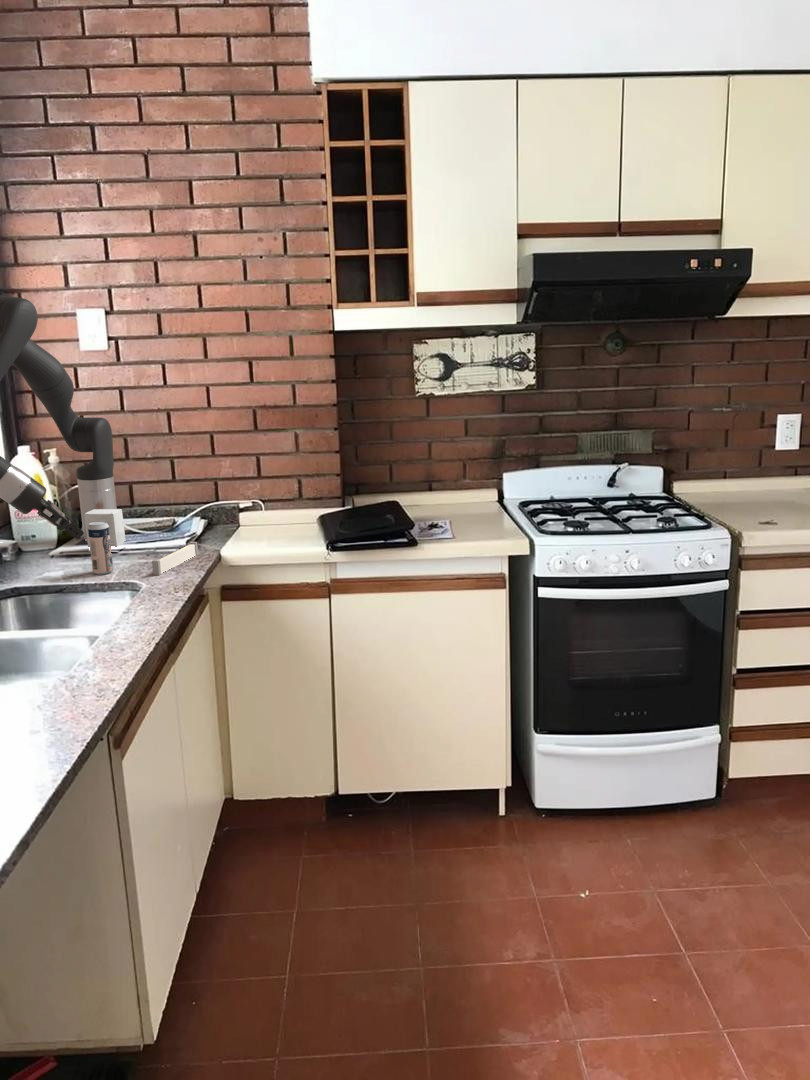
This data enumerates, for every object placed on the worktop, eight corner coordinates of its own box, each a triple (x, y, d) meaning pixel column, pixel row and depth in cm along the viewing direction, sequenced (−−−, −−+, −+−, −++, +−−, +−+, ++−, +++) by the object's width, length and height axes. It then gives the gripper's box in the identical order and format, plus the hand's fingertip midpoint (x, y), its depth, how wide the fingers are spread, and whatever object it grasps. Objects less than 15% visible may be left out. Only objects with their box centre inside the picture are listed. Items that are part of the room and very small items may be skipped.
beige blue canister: (114, 573, 200) (109, 524, 197) (92, 576, 198) (87, 526, 195) (113, 568, 204) (108, 520, 201) (92, 571, 202) (86, 522, 199)
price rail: (159, 575, 198) (157, 561, 197) (153, 574, 198) (151, 560, 197) (198, 555, 215) (197, 542, 214) (192, 554, 215) (191, 541, 215)
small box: (126, 547, 223) (122, 508, 221) (117, 553, 218) (113, 513, 215) (97, 547, 224) (93, 508, 222) (87, 553, 219) (83, 513, 216)
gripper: (33, 480, 183) (94, 525, 191) (25, 471, 195) (83, 514, 203) (9, 507, 181) (72, 551, 190) (3, 496, 194) (62, 538, 202)
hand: (78, 532), depth 196 cm, fingers open, 8 cm apart
